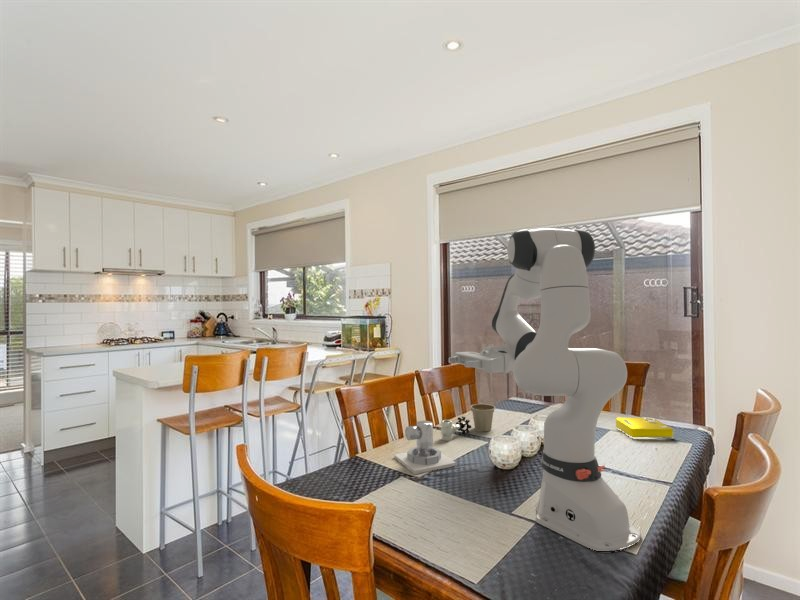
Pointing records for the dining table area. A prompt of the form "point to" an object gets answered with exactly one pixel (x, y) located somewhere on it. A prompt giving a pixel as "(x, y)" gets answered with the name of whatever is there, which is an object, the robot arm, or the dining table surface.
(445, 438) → the valve
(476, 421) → the flower pot
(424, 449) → the duct elbow
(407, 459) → the vent flange
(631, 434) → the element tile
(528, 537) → the dining table surface
